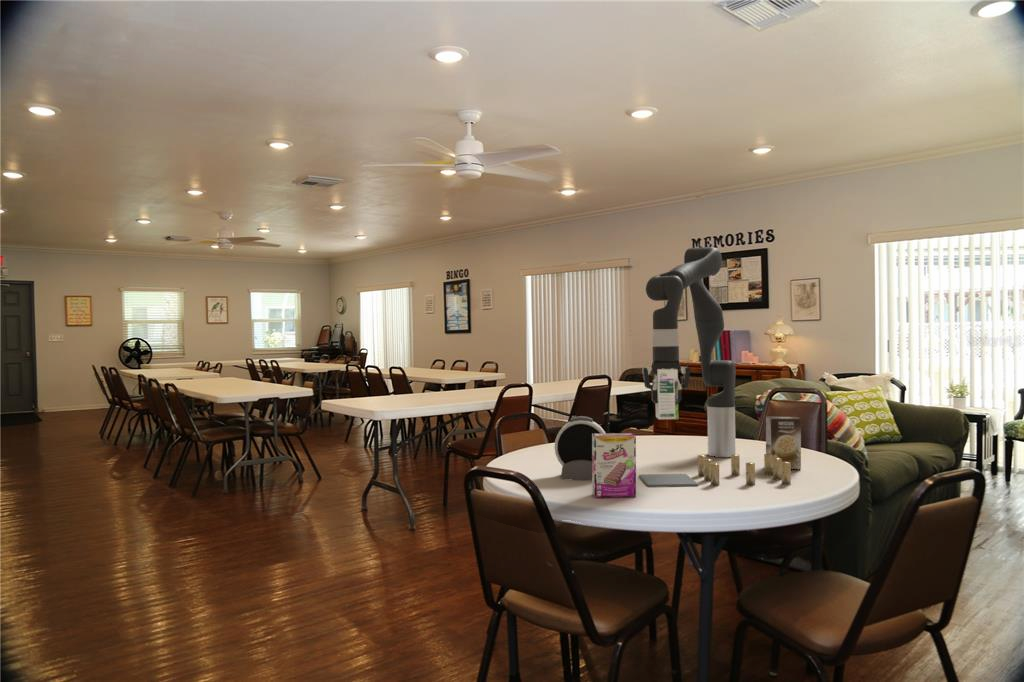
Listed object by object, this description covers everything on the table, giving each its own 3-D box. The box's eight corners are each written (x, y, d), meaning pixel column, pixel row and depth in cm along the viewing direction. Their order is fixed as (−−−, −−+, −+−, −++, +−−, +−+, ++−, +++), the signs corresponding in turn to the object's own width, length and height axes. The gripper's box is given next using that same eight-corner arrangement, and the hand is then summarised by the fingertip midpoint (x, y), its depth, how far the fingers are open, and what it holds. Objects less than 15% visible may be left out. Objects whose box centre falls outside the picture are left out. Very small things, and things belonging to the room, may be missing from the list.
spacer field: (697, 474, 204) (696, 455, 204) (771, 473, 204) (770, 453, 204) (712, 486, 189) (711, 464, 189) (792, 484, 189) (791, 463, 189)
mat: (639, 476, 203) (639, 474, 203) (685, 475, 203) (685, 473, 203) (648, 486, 189) (648, 484, 189) (698, 486, 189) (698, 483, 189)
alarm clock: (554, 480, 200) (553, 418, 200) (557, 473, 210) (556, 414, 210) (609, 480, 198) (608, 418, 198) (609, 473, 208) (608, 414, 208)
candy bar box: (594, 498, 176) (593, 436, 176) (591, 494, 181) (590, 433, 181) (637, 497, 177) (636, 435, 177) (633, 493, 182) (632, 432, 182)
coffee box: (771, 470, 209) (770, 418, 209) (765, 466, 216) (764, 416, 215) (801, 470, 208) (801, 418, 208) (795, 466, 215) (794, 416, 215)
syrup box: (658, 419, 193) (657, 369, 193) (655, 417, 199) (654, 368, 199) (678, 419, 193) (678, 368, 193) (674, 417, 199) (674, 367, 199)
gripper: (687, 344, 200) (688, 401, 200) (638, 345, 200) (639, 402, 200) (693, 344, 192) (694, 403, 192) (643, 345, 192) (644, 404, 192)
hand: (666, 402), depth 196 cm, fingers closed on syrup box, 5 cm apart
